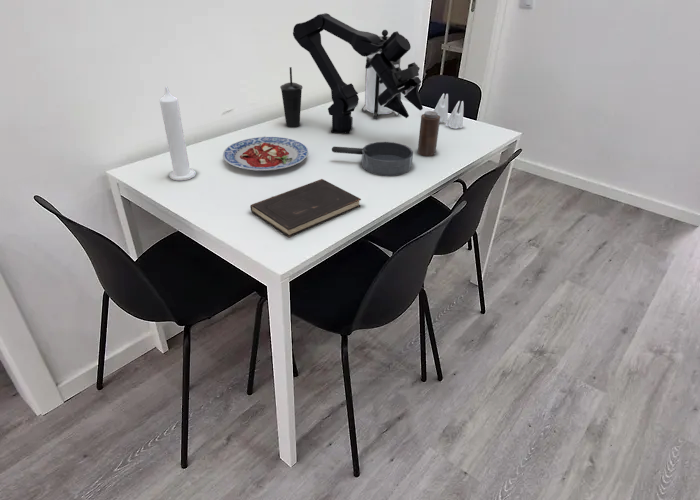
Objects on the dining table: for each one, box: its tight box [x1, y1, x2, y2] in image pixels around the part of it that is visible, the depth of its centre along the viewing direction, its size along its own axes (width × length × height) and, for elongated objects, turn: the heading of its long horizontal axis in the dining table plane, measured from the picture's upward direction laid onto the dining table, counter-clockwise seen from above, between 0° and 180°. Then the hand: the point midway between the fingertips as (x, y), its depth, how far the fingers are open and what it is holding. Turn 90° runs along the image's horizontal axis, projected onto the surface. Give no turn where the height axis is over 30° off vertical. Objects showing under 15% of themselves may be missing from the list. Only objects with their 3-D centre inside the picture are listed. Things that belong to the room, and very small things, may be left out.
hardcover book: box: [249, 178, 362, 238], centre depth 123 cm, size 16×23×2 cm
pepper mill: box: [417, 110, 440, 157], centre depth 153 cm, size 6×6×13 cm
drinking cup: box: [279, 66, 303, 128], centre depth 169 cm, size 8×8×20 cm
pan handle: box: [331, 146, 367, 156], centre depth 147 cm, size 11×2×2 cm, turn 82°
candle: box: [159, 85, 196, 182], centre depth 131 cm, size 7×7×25 cm
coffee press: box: [361, 29, 402, 120], centre depth 180 cm, size 17×16×30 cm
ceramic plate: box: [222, 136, 309, 172], centre depth 149 cm, size 26×26×3 cm
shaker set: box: [433, 93, 465, 130], centre depth 175 cm, size 12×4×11 cm, turn 48°
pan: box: [361, 141, 414, 177], centre depth 146 cm, size 15×15×4 cm
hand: (414, 113), depth 152 cm, fingers open, 9 cm apart
